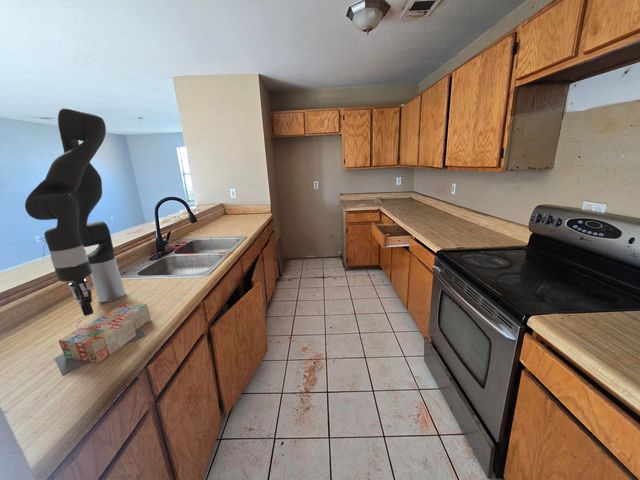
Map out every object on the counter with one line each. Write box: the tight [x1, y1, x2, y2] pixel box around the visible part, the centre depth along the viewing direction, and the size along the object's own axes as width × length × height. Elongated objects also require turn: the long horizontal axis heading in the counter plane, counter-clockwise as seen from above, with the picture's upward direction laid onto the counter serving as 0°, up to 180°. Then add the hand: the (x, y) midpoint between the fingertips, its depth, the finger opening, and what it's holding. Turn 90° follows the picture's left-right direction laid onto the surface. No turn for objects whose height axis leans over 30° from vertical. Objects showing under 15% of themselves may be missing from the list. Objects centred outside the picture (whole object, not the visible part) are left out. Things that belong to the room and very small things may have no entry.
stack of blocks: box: [58, 303, 151, 364], centre depth 83 cm, size 21×6×12 cm
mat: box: [54, 328, 147, 376], centre depth 80 cm, size 11×20×1 cm, turn 143°
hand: (88, 314), depth 81 cm, fingers closed
